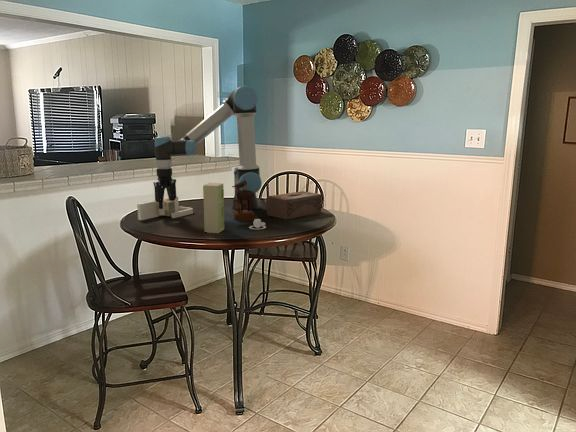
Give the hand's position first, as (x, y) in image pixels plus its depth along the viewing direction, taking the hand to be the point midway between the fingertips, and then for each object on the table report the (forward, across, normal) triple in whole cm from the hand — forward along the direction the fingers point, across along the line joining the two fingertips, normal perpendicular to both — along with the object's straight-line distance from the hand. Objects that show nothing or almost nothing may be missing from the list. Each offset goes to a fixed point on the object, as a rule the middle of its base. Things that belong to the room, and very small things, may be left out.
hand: (166, 213), depth 238 cm
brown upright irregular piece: (+2, -17, +37) cm, 40 cm away
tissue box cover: (+2, -40, +51) cm, 65 cm away
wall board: (+2, -1, 0) cm, 2 cm away
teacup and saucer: (+2, -6, +55) cm, 56 cm away
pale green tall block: (+2, +11, +40) cm, 42 cm away
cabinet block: (0, 0, 0) cm, 0 cm away
